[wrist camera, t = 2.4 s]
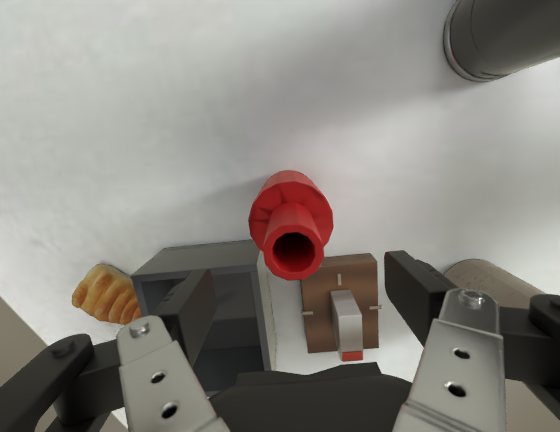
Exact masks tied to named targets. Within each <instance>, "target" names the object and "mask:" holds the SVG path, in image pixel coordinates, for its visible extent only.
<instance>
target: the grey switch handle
mask: <svg viewBox="0 0 560 432" xmlns="http://www.w3.org/2000/svg"><path fill="white" fill-rule="evenodd" d="M330 299H331V313H332V328H333V333H334V337H335V341H336V345H337V348H338V352H339V356H340V360H341V361H343V362H345V361H359V360H363V336H362V315H361V312H360V310H359V308H358V306H357V304H356V302H355V299H354V297H353V295H352V293H351V291H350V290H338V291H330Z"/></svg>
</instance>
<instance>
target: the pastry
mask: <svg viewBox="0 0 560 432" xmlns="http://www.w3.org/2000/svg"><path fill="white" fill-rule="evenodd" d="M72 304H73V306H75V307H77V308H81V309H82V310H84V311H85V312H86V313H88V314H89V315H90V316H94V317H95V318H96V319H97V320H99V321H106V322H111V323H118V324H122V325H127V324H128V323H130V322H132V321H134V320H136V319H139V318H142V316H141V312H140V308H139V305H138V301H137V297H136V294H135V290H134V286H133V282H132V279H131V278H130V277H129V276H127V275H126V274H124V273H121V272H120V271H118V269H116V268H114V267H112V266H108V265H103V264H98V265H96V266H95V267H94V268H92V269H91V270H90V272H89V273H88V274H87V275H86V277H85V278H84V280H83V281H82V282H81V283H80V284H79V285H78V287H77V288H76V290H75V292H74V293H73V295H72Z"/></svg>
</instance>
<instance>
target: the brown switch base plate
mask: <svg viewBox="0 0 560 432" xmlns="http://www.w3.org/2000/svg"><path fill="white" fill-rule="evenodd" d="M301 287H302V297H303V307H304V312H301V313H302V315H304V318H305V328H306V338H307V347H308V353H319V352H332V351H338V348H337V345H336V341H335V337H334V333H333V328H332V313H331V299H330V291H338V290H350V291H351V293H352V295H353V297H354V299H355V302H356V304H357V306H358V308H359V310H360V312H361V315H362V336H363V349H371V348H379V343H378V309H381V305H379V306H378V284H377V261H376V260H375V258H374V257H373V256H372V255H371V254H370V253H369V254H358V255H347V256H336V257H325V258H323V260H322V262H321V264H320V266H319V268H318V270H316V272H314V273H313V274H311V275H310V276H308V277H307V278H305V279H301Z"/></svg>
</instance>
